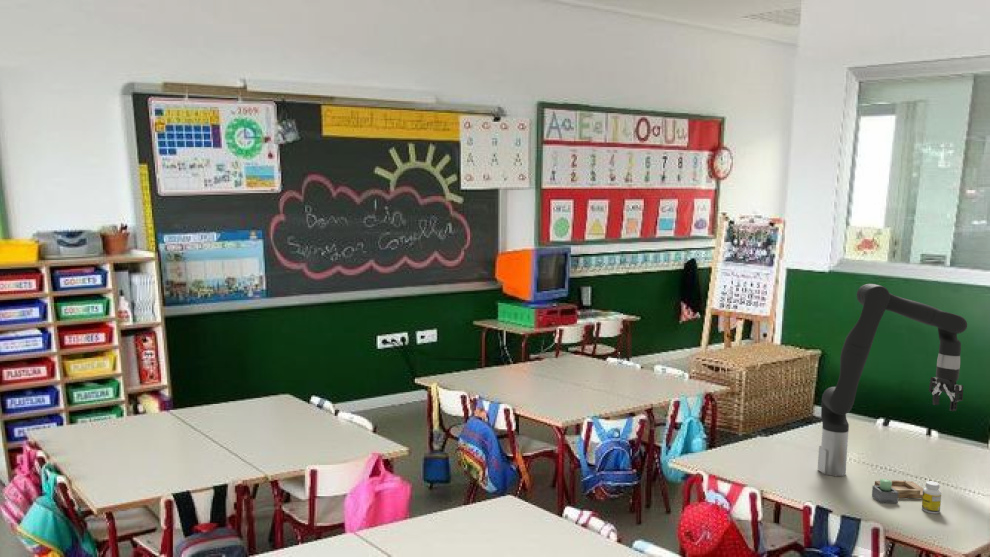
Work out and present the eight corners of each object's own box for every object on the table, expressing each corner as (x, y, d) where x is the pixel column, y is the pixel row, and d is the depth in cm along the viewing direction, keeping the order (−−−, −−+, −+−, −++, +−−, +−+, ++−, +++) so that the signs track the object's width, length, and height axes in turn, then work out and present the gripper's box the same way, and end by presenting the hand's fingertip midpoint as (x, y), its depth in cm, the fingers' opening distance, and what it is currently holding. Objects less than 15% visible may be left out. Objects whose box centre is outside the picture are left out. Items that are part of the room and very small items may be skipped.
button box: (880, 503, 259) (881, 492, 259) (871, 496, 265) (872, 485, 265) (897, 503, 259) (898, 492, 259) (888, 496, 265) (889, 485, 265)
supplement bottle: (918, 507, 256) (920, 479, 255) (934, 507, 256) (936, 480, 255) (926, 513, 250) (929, 485, 250) (943, 514, 250) (945, 486, 249)
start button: (883, 491, 260) (883, 482, 259) (877, 487, 263) (878, 478, 263) (893, 491, 260) (893, 482, 260) (887, 487, 263) (888, 478, 263)
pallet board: (893, 498, 264) (894, 490, 263) (874, 484, 276) (875, 476, 276) (932, 499, 264) (933, 490, 263) (912, 485, 277) (912, 477, 276)
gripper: (925, 362, 289) (921, 402, 290) (953, 370, 275) (949, 413, 276) (942, 362, 290) (938, 402, 291) (971, 370, 276) (967, 412, 277)
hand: (944, 407), depth 284 cm, fingers open, 8 cm apart
